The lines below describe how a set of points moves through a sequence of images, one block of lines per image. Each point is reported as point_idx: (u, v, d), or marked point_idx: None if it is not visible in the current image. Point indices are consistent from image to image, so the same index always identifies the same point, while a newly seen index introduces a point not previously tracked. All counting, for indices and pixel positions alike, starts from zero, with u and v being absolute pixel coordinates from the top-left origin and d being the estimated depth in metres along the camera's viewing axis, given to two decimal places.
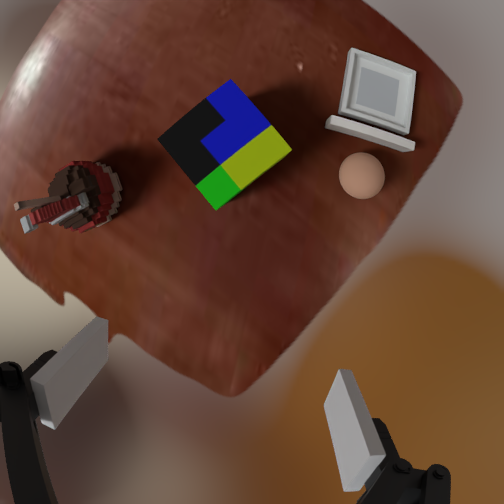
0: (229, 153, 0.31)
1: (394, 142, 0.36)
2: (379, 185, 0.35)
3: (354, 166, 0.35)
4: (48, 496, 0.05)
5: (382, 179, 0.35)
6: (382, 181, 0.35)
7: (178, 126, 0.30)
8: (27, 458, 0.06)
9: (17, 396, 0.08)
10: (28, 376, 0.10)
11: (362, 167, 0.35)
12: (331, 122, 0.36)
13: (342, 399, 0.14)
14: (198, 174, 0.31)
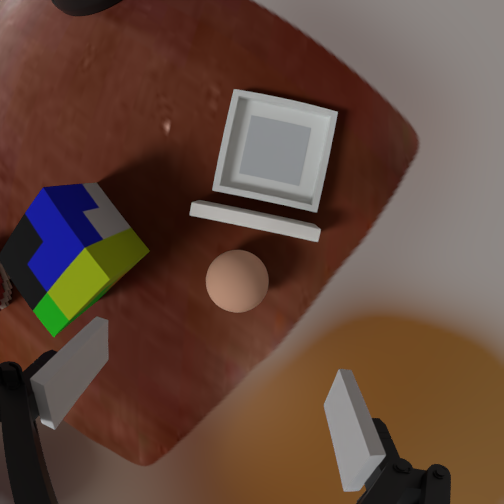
0: (52, 280, 0.23)
1: (285, 233, 0.28)
2: (253, 301, 0.28)
3: (216, 278, 0.28)
4: (48, 496, 0.05)
5: (258, 292, 0.28)
6: (259, 294, 0.28)
7: (9, 246, 0.23)
8: (27, 458, 0.06)
9: (17, 396, 0.08)
10: (28, 376, 0.10)
11: (225, 281, 0.27)
12: (191, 213, 0.28)
13: (342, 399, 0.14)
14: (32, 299, 0.24)
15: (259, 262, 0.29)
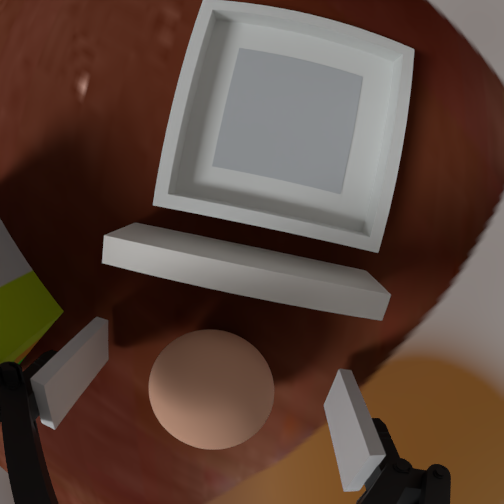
0: None
1: (315, 306, 0.12)
2: (241, 440, 0.12)
3: (162, 400, 0.12)
4: (48, 496, 0.05)
5: (253, 426, 0.12)
6: (254, 429, 0.12)
7: None
8: (27, 458, 0.06)
9: (17, 396, 0.08)
10: (28, 376, 0.10)
11: (180, 411, 0.11)
12: (104, 259, 0.12)
13: (342, 399, 0.14)
14: None
15: (255, 364, 0.13)
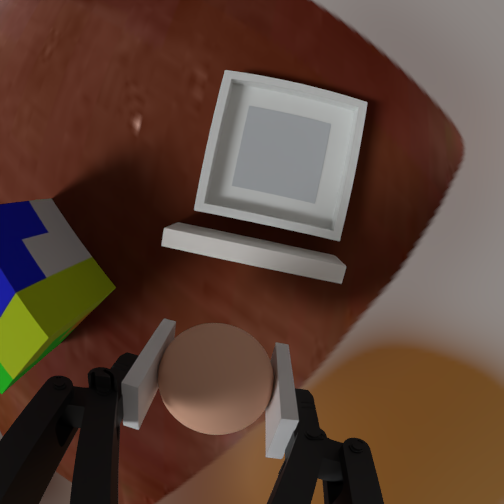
0: None
1: (297, 272, 0.20)
2: (243, 425, 0.13)
3: (170, 386, 0.13)
4: None
5: (254, 412, 0.13)
6: (255, 414, 0.13)
7: None
8: (98, 464, 0.07)
9: (106, 402, 0.10)
10: None
11: (187, 395, 0.12)
12: (163, 243, 0.20)
13: (274, 370, 0.16)
14: None
15: (256, 353, 0.14)
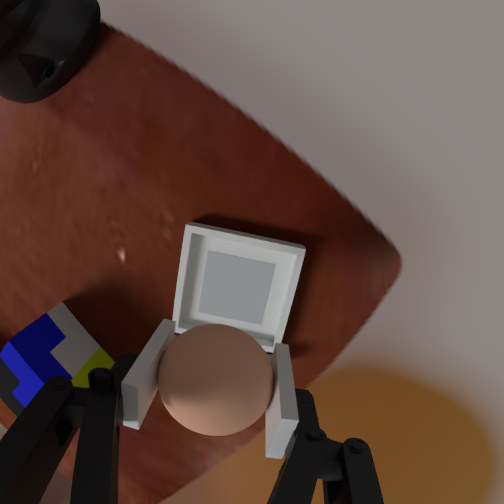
0: None
1: None
2: (243, 426, 0.13)
3: (170, 387, 0.13)
4: None
5: (254, 413, 0.13)
6: (254, 415, 0.13)
7: None
8: (99, 464, 0.07)
9: (105, 402, 0.10)
10: None
11: (187, 397, 0.12)
12: None
13: (274, 370, 0.16)
14: None
15: (256, 354, 0.14)
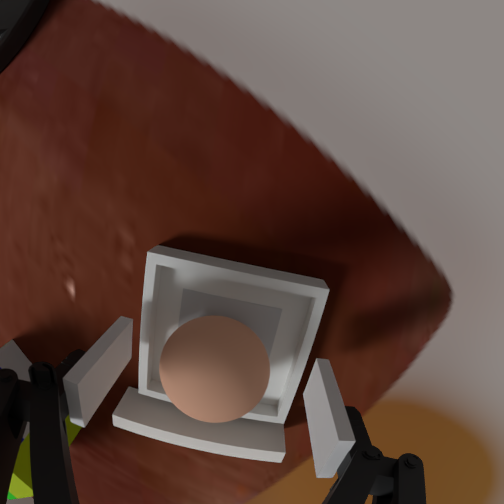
0: None
1: (237, 455, 0.18)
2: (237, 413, 0.14)
3: (169, 372, 0.14)
4: (70, 497, 0.05)
5: (248, 401, 0.14)
6: (249, 403, 0.14)
7: None
8: (52, 459, 0.06)
9: (48, 396, 0.09)
10: (58, 376, 0.11)
11: (184, 381, 0.13)
12: (114, 424, 0.18)
13: (318, 387, 0.15)
14: None
15: (252, 344, 0.15)
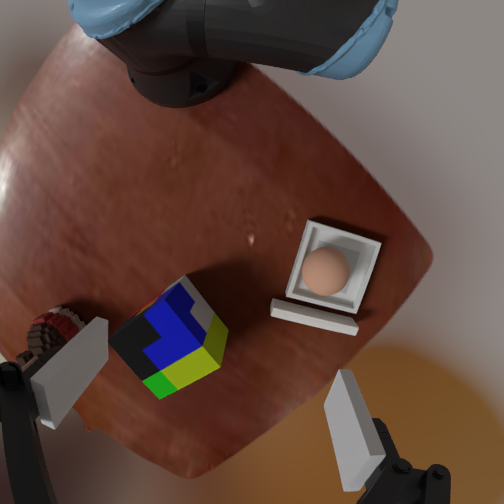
0: (167, 363, 0.34)
1: (335, 330, 0.40)
2: (331, 284, 0.35)
3: (307, 262, 0.37)
4: (48, 496, 0.05)
5: (336, 278, 0.35)
6: (336, 280, 0.35)
7: (123, 335, 0.34)
8: (27, 458, 0.06)
9: (17, 396, 0.08)
10: (28, 376, 0.10)
11: (312, 264, 0.36)
12: (272, 314, 0.39)
13: (342, 399, 0.14)
14: (143, 374, 0.35)
15: (343, 257, 0.36)
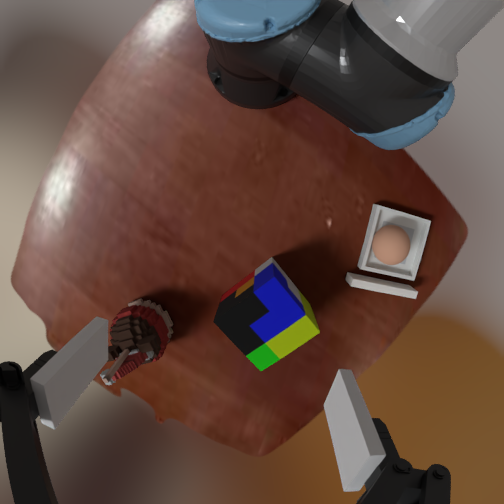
0: (272, 335, 0.40)
1: (400, 295, 0.45)
2: (397, 254, 0.41)
3: (377, 237, 0.43)
4: (48, 496, 0.05)
5: (401, 249, 0.41)
6: (401, 250, 0.41)
7: (231, 313, 0.40)
8: (27, 458, 0.06)
9: (17, 396, 0.08)
10: (28, 376, 0.10)
11: (382, 238, 0.42)
12: (351, 285, 0.45)
13: (342, 399, 0.14)
14: (247, 348, 0.41)
15: (404, 232, 0.41)
